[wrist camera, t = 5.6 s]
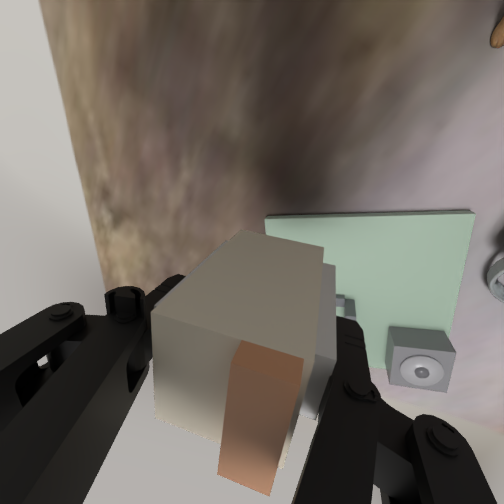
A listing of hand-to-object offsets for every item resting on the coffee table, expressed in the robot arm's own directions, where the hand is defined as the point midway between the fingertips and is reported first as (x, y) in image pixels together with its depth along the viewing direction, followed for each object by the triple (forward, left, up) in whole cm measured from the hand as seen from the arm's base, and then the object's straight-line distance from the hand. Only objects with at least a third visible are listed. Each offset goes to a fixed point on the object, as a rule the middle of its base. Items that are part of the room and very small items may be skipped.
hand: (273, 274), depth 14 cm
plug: (0, 0, 0) cm, 0 cm away
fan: (+15, +11, -13) cm, 23 cm away
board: (+9, +5, -14) cm, 18 cm away
